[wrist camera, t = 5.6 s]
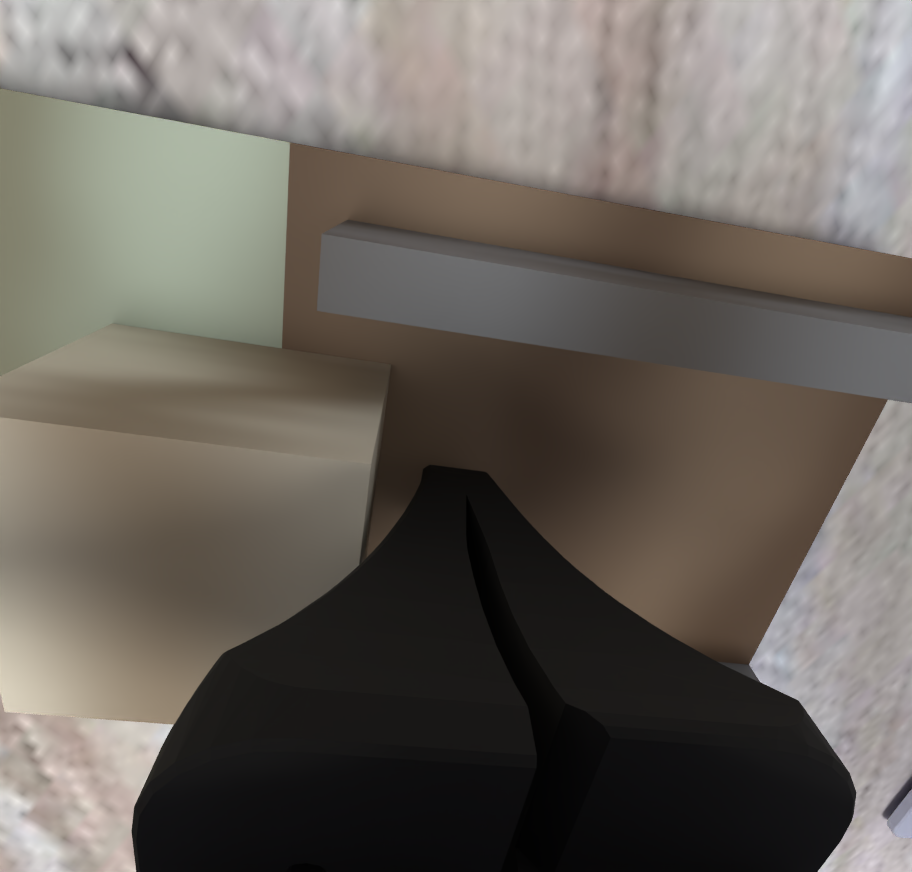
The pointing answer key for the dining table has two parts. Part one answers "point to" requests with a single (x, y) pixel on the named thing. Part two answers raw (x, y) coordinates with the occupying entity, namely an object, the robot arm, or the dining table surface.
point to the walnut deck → (490, 337)
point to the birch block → (171, 510)
